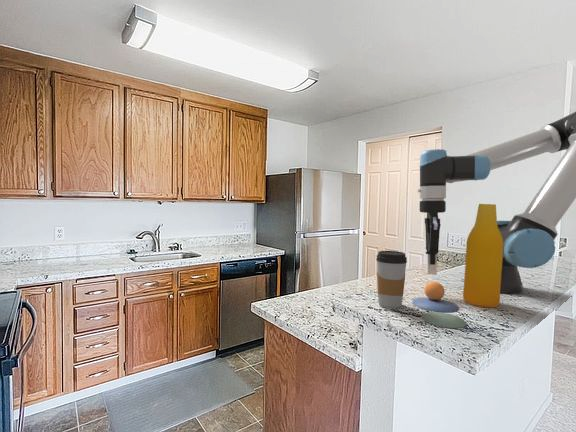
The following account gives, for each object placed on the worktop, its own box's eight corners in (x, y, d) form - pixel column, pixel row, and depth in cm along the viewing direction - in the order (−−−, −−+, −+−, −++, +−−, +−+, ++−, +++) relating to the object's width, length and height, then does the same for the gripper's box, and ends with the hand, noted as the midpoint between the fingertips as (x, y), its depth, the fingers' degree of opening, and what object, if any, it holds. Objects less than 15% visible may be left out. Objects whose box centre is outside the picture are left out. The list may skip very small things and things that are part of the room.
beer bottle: (507, 308, 89) (514, 205, 87) (474, 308, 89) (481, 204, 87) (485, 297, 99) (492, 204, 97) (456, 297, 98) (462, 203, 96)
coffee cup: (407, 311, 86) (409, 256, 85) (375, 308, 87) (377, 254, 86) (403, 301, 94) (404, 251, 93) (373, 299, 95) (375, 249, 95)
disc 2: (450, 312, 85) (450, 311, 85) (475, 327, 75) (475, 327, 75) (414, 313, 84) (414, 312, 84) (435, 328, 74) (435, 327, 74)
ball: (444, 278, 95) (445, 294, 91) (443, 289, 98) (444, 305, 95) (424, 277, 97) (424, 292, 93) (424, 287, 100) (424, 302, 97)
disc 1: (442, 298, 98) (442, 297, 98) (468, 312, 86) (468, 311, 86) (405, 298, 97) (405, 297, 97) (425, 312, 85) (425, 311, 85)
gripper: (417, 199, 108) (416, 269, 109) (422, 200, 95) (421, 278, 96) (441, 199, 106) (440, 270, 107) (450, 199, 93) (449, 279, 94)
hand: (431, 273), depth 102 cm, fingers closed
